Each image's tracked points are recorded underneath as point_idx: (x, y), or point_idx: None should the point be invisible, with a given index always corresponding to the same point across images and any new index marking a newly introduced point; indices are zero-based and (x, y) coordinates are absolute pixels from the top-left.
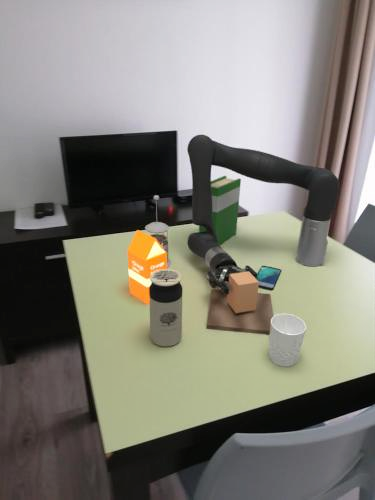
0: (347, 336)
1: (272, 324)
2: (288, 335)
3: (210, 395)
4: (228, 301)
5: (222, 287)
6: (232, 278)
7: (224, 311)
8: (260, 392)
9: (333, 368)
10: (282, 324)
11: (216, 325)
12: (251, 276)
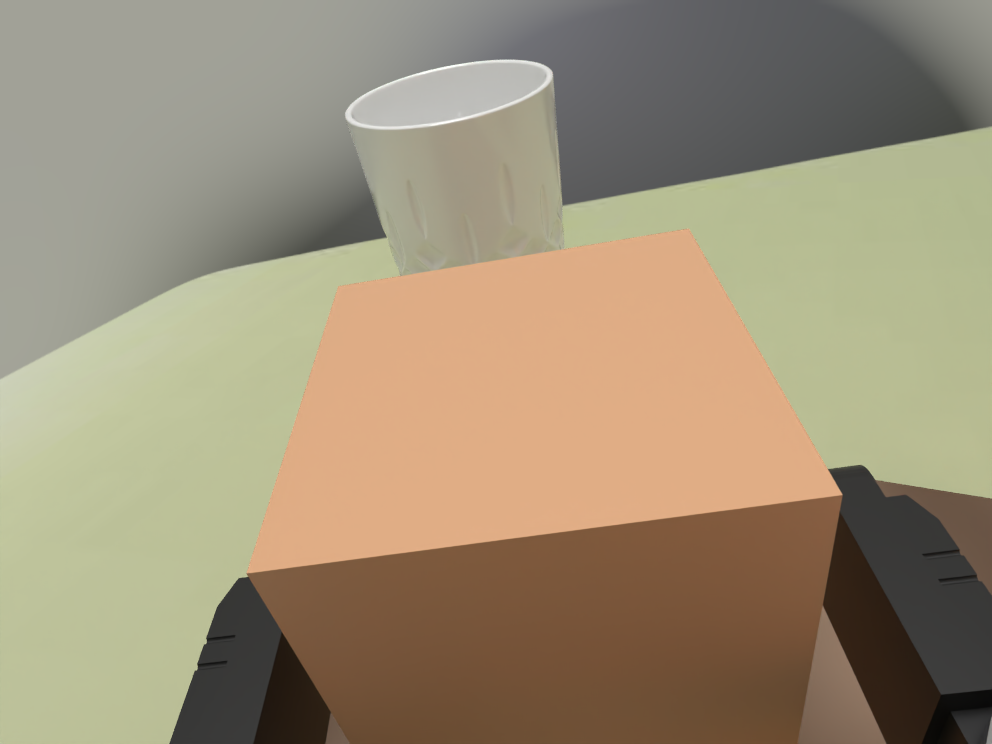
0: (53, 406)
1: (546, 79)
2: (499, 66)
3: (899, 188)
4: None
5: (953, 550)
6: (766, 370)
7: (820, 696)
8: (676, 205)
9: (319, 277)
10: (435, 204)
11: (914, 491)
12: (346, 392)
